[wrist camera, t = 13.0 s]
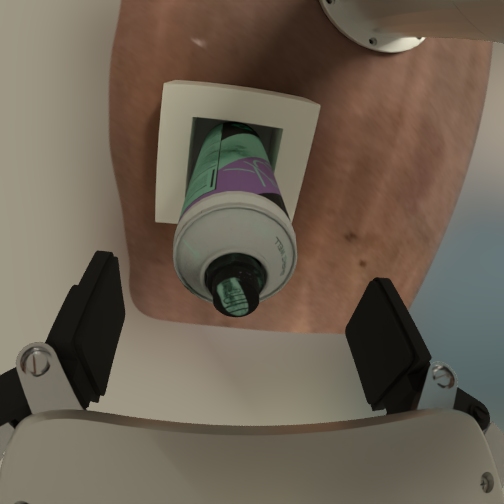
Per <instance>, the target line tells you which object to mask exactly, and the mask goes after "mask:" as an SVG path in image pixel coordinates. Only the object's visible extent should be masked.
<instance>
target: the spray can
mask: <svg viewBox="0 0 504 504" xmlns="http://www.w3.org/2000/svg"><path fill="white" fill-rule="evenodd" d="M296 262H297V249H296V237H295V233H294V230H293V227H292V224H291V221H290V218H289V215H288V212H287V210H286V207H285V204H284V201H283V198H282V195H281V193H280V190H279V187H278V184H277V182H276V179H275V176H274V173H273V171H272V168H271V165H270V163H269V160H268V157H267V155H266V152H265V149H264V147H263V144H262V141H261V139H260V137H259V135H258V133H257V132H256V131H255V130H254V129H253V128H252V127H251V126H250V125H248V124H246V123H244V122H236V121H225V122H222V123H219V124H217V125H216V126H214V127H213V128H212V129H211V130H210V131H209V132H208V134H207V135H206V137H205V140H204V142H203V145H202V148H201V151H200V154H199V157H198V160H197V163H196V166H195V169H194V172H193V175H192V178H191V181H190V185H189V188H188V191H187V194H186V197H185V201H184V204H183V207H182V211H181V214H180V218H179V221H178V225H177V228H176V232H175V235H174V242H173V263H174V268H175V271H176V273H177V276H178V278H179V279H180V281H181V282H182V283H183V285H184V286H185V287H186V288H187V289H188V290H189V291H190V292H191V293H193V294H194V295H196V296H197V297H199V298H201V299H203V300H205V301H207V302H210V303H213V304H214V306H215V308H216V309H217V310H218V311H219V312H221V313H222V314H224V315H226V316H230V317H243V316H246V315H248V314H250V313H252V312H253V311H254V310H255V309H256V308H257V306H258V304H259V302H261V301H264V300H266V299H268V298H270V297H272V296H273V295H275V294H276V293H277V292H279V291H280V290H281V289H282V288H283V287H284V286H285V285H286V284H287V283H288V281H289V280H290V278H291V276H292V275H293V272H294V270H295V267H296Z"/></svg>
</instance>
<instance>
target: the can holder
mask: <svg viewBox="0 0 504 504" xmlns="http://www.w3.org/2000/svg"><path fill="white" fill-rule="evenodd" d="M320 107H321V105H319V104H317V103H315V102H313V101H311V100H309V99H307V98H304V97H300V96H295V95H290V94H285V93H280V92H274V91H269V90H263V89H257V88H250V87H243V86H236V85H228V84H220V83H210V82H200V81H187V80H173V81H170V82H166V83H164V86H163V95H162V105H161V115H160V126H159V139H158V155H157V174H156V204H155V222H161V223H172V224H178V221H179V218H180V214H181V211H182V207H183V204H184V201H185V197H186V194H187V191H188V188H189V185H190V181H191V178H192V175H193V172H194V169H195V166H196V163H197V160H198V157H199V154H200V151H201V148H202V145H203V142H204V140H205V137H206V135H207V134H208V132H209V131H210V130H211V129H212V128H213V127H214V126H216V125H217V124H219V123H222V122H225V121H236V122H244V123H246V124H248V125H250V126H251V127H252V128H253V129H254V130H255V131H256V132H257V133H258V135H259V137H260V139H261V141H262V144H263V147H264V149H265V152H266V155H267V157H268V160H269V163H270V165H271V168H272V171H273V173H274V176H275V179H276V182H277V184H278V187H279V190H280V193H281V195H282V198H283V201H284V204H285V207H286V210H287V212H288V215H289V218H290V221H291V224H292V220H293V216H294V213H295V209H296V205H297V201H298V197H299V193H300V189H301V185H302V181H303V178H304V174H305V170H306V166H307V161H308V157H309V153H310V149H311V145H312V141H313V137H314V133H315V128H316V124H317V120H318V116H319V111H320Z"/></svg>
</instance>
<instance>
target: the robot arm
mask: <svg viewBox="0 0 504 504" xmlns="http://www.w3.org/2000/svg"><path fill="white" fill-rule="evenodd" d="M329 1H330V4H328V3H327V2H326V0H319V2H320V4H321V6H322V9H323V11H324V12H325V14H326V15H327V17H328V18H329V20H330V21H331V23H332V24H333V25H334V26H335V27H336V28H337V29H338V30H339V31H340V32H341V33H342V34H344V35H345V36H346V37H347V38H349V39H350V40H352V41H353V42H355V43H357V44H358V45H360V46H363V47H365V48H368V49H370V50H374V51H379V52H388V53H395V52H403V51H407V50H410V49H412V48H414V47H416V46H418V45H419V44H420V43H422V42H423V41H424V40H425V38H426V37H430V38H457V39H470V40H481V41H490V42H497V43H504V0H329ZM369 39H370V40H371V44H370V43H369ZM124 319H125V307H124V301H123V294H122V287H121V280H120V271H119V263H118V258H117V257H114V256H113V253H112V252H106V251H96V252H95V254H94V256H93V258H92V260H91V262H90V263H89V265H88V267H87V269H86V271H85V273H84V275H83V277H82V279H81V281H80V283H79V285H73V286H72V287H71V289H70V291H69V293H68V295H67V297H66V299H65V301H64V303H63V305H62V307H61V309H60V311H59V313H58V316H57V318H56V320H55V322H54V324H53V326H52V328H51V331H50V333H49V335H48V338H47V340H46V342H45V343H42V342H35V343H31V344H29V345H27V346H25V347H24V348H23V349H22V350H21V351H20V353H19V354H18V356H17V360H16V367H15V368H13V369H11V370H9V371H7V372H5V373H4V374H2V375H0V460H1V459H2V458H3V457H4V458H3V462H2V465H1V470H0V504H504V495H503V491H502V488H503V486H504V434H503V433H502V432H501V430H500V429H499V428H498V427H497V426H496V425H495V424H494V423H493V422H491V423H490V416H489V412H488V410H487V408H486V407H485V405H484V404H482V403H481V402H480V401H478V400H477V399H475V398H473V397H472V396H470V395H469V394H467V393H466V392H464V391H463V390H461V389H459V388H458V387H457V385H458V383H457V381H458V380H457V376H456V374H455V372H454V370H453V369H452V368H451V367H450V366H448V365H447V364H445V363H443V362H434V363H432V364H430V362H429V361H430V360H431V355H430V353H429V351H428V349H427V347H426V345H425V343H424V341H423V339H422V337H421V335H420V333H419V331H418V329H417V327H416V325H415V323H414V321H413V320H412V318H411V316H410V314H409V312H408V310H407V308H406V306H405V305H404V303H403V301H402V299H401V297H400V296H399V294H398V292H397V290H396V289H395V287H394V285H393V283H392V282H391V280H390V279H388V278H378V277H377V278H374V279H373V281H370V282H369V284H368V286H367V288H366V290H365V292H364V294H363V296H362V298H361V300H360V302H359V304H358V306H357V308H356V309H355V311H354V313H353V315H352V317H351V319H350V321H349V323H348V324H347V326H346V330H345V334H346V338H347V341H348V344H349V347H350V350H351V353H352V356H353V359H354V362H355V365H356V368H357V371H358V374H359V377H360V380H361V383H362V387H363V390H364V393H365V397H366V400H367V402H368V404H371V407H372V411H376V410H383V409H385V408H386V411H387V413H386V415H384V416H378V417H371V418H364V419H357V420H348V421H339V422H329V423H318V424H303V425H281V426H227V425H206V424H191V423H179V422H170V421H160V420H152V419H144V418H136V417H129V416H122V415H116V414H110V413H102V412H96V411H87V410H86V408H87V407H89V403H90V401H92V402H96V403H98V402H99V398H100V395H101V396H104V395H105V392H106V388H107V383H108V379H109V375H110V371H111V367H112V363H113V359H114V355H115V351H116V348H117V344H118V341H119V337H120V333H121V330H122V326H123V323H124ZM5 450H6V451H5ZM4 451H5V455H3V452H4Z"/></svg>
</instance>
